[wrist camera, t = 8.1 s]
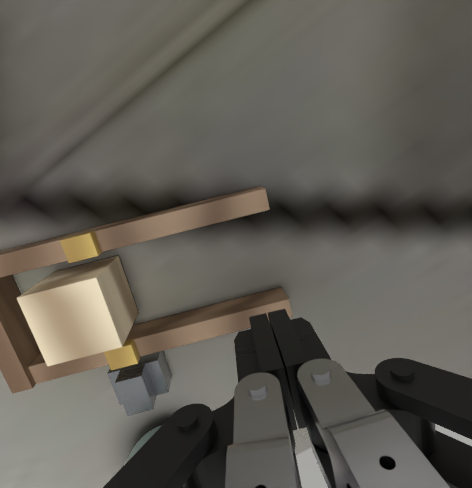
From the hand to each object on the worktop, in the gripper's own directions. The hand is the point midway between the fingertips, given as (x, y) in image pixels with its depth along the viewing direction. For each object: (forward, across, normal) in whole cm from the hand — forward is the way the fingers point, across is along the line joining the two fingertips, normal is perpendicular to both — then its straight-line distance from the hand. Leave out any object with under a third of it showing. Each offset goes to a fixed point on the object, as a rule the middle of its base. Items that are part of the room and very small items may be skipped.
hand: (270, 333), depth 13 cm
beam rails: (+13, +8, +1) cm, 15 cm away
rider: (+13, +12, +1) cm, 17 cm away
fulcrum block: (+13, +11, +8) cm, 18 cm away
